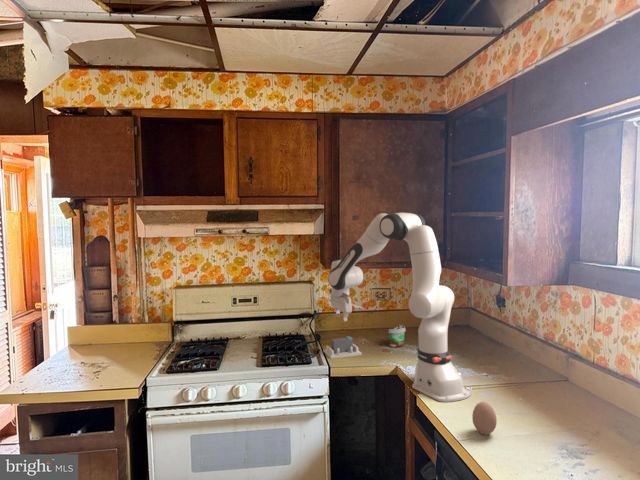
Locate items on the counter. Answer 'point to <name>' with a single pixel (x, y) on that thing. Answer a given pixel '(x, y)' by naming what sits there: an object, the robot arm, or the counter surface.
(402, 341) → the food container
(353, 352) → the pin tray
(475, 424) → the egg
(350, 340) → the block
